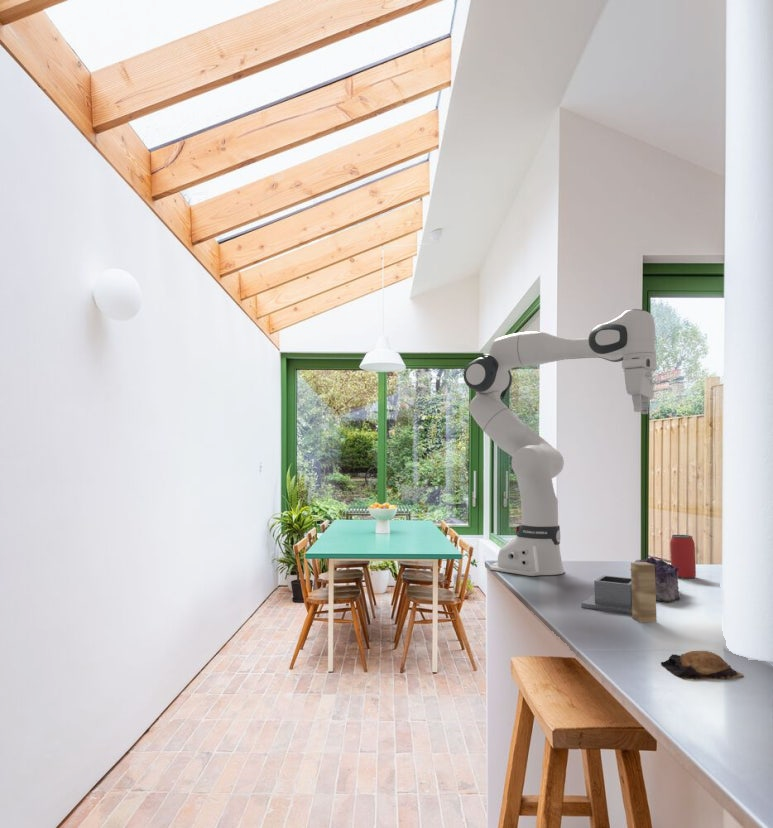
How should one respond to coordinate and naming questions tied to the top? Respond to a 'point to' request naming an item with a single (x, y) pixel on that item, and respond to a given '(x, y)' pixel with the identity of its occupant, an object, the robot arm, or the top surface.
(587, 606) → the grey open box
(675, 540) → the beer can
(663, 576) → the geode
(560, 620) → the top surface
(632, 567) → the wooden block
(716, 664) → the brown domed piece
